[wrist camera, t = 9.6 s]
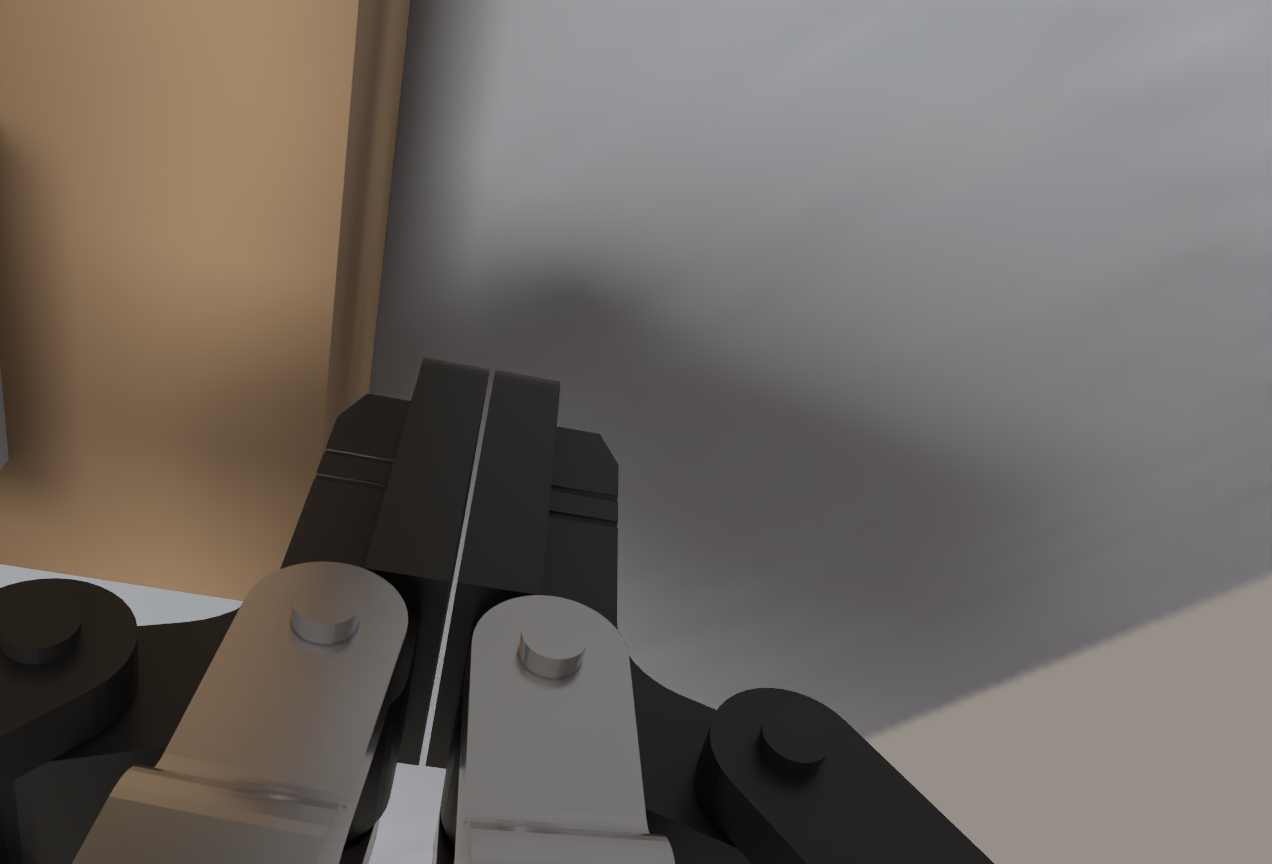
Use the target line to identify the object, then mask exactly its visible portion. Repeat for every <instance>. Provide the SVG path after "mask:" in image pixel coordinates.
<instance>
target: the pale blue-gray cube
mask: <svg viewBox="0 0 1272 864" xmlns="http://www.w3.org/2000/svg"><path fill="white" fill-rule="evenodd" d="M8 460H9V456H8V445H7V434H6V424H5V413H4V402H3V391H2V381H1V370H0V470H1V469H2V468H3V466H4V465H5V464H6V462H7V461H8Z"/></svg>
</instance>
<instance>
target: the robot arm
mask: <svg viewBox="0 0 1272 864" xmlns="http://www.w3.org/2000/svg"><path fill="white" fill-rule="evenodd" d="M488 376H489V369H485V368H479V367H474V366H468V365H462V364H457V363H451V362H446V361H440V360H434V359H429V358H424V359H423V361H422V365H421V368H420V372H419V375H418V379H417V382H416V386H415V389H414V393H413V396H412V400H411V401H406V400H400V399H394V398H388V397H383V396H377V395H371V394H366V395H365V396H363V397H362V398H361V399H359V400H358V401H357V402H356V403H354V404H353V405H352V406H350V407H349V408H348V409H347V410H345V411H344V412H343V413H341V414H340V415H339V416H338V417H337V419H336V421H335V424H334V427H333V429H332V432H331V435H330V437H329V440H328V443H327V445H326V449H325V453H323V456H322V459H321V461H320V464H319V467H318V469H317V472H316V478H314V480H313V483H312V485H311V488H310V491H309V493H308V496H307V499H306V501H305V504H304V507H303V509H302V512H301V515H300V517H299V520H298V523H297V525H296V528H295V531H294V533H293V536H292V539H291V541H290V544H289V547H288V549H287V552H286V555H285V557H284V560H283V563H282V565H281V568H280V570H278V571H276V572H274V573H272V574H270V575H268V576H266V577H265V578H264V579H262V580H261V581H259V582H258V583H257V584H256V585H255V586H254V587H253V588H252V589H251V590H250V591H249V593H248V594H247V596H246V597H245V599H244V601H243V603H242V605H241V607H240V608H238V609H236V610H234V611H232V612H229V613H226V614H223V615H221V616H217V617H213V618H209V619H205V620H199V621H191V622H182V623H171V624H159V625H147V626H137V624H136V619H135V617H134V615H133V613H132V611H131V609H130V608H129V607H128V606H127V604H126V603H125V602H124V601H123V600H122V599H121V598H119V597H118V596H116V595H115V594H114V593H112V592H110V591H108V590H106V589H104V588H102V587H100V586H97V585H94V584H91V583H88V582H83V581H77V580H72V579H57V578H55V579H37V580H30V581H23V582H19V583H15V584H11V585H7V586H5V587H2V588H0V864H368V863H369V859H370V856H371V853H372V849H373V846H374V843H375V840H376V835H377V830H378V824H379V818H380V817H381V816H382V814H383V812H384V811H385V809H386V807H387V804H388V801H389V798H390V794H391V789H392V784H393V779H394V774H395V769H396V765H397V762H398V763H405V764H413V765H419V760H420V755H421V749H422V744H423V739H424V733H425V728H426V722H427V717H428V711H429V706H430V701H431V695H432V690H433V684H434V679H435V674H436V668H437V663H438V657H439V652H440V647H441V641H442V636H443V630H444V625H445V620H446V614H447V609H448V603H449V598H450V593H451V587H452V582H453V576H454V571H455V565H456V560H457V555H458V549H459V544H460V538H461V533H462V527H463V522H464V516H465V511H466V505H467V499H468V493H469V488H470V482H471V476H472V470H473V464H474V458H475V453H476V447H477V441H478V435H479V429H480V423H481V417H482V412H483V406H484V400H485V394H486V388H487V382H488ZM559 392H560V382H559V381H553V380H547V379H542V378H536V377H531V376H525V375H519V374H514V373H508V372H503V371H497V370H495V376H494V382H493V387H492V393H491V398H490V404H489V409H488V415H487V421H486V426H485V432H484V437H483V443H482V448H481V454H480V460H479V465H478V471H477V476H476V482H475V487H474V493H473V499H472V504H471V510H470V515H469V521H468V527H467V532H466V538H465V543H464V549H463V554H462V560H461V566H460V571H459V577H458V582H457V588H456V594H455V600H454V605H453V611H452V617H451V623H450V628H449V634H448V640H447V646H446V652H445V657H444V663H443V669H442V675H441V680H440V686H439V692H438V698H437V703H436V709H435V715H434V721H433V727H432V732H431V738H430V744H429V750H428V755H427V761H426V766H430V767H438V768H445V769H446V775H445V781H444V788H443V794H442V800H441V807H440V812H439V818H438V823H437V828H436V833H435V839H434V845H433V858H432V864H994V863H993V862H992V861H991V860H990V859H989V858H988V857H987V856H986V855H985V854H984V853H983V852H982V851H981V850H979V849H978V848H977V847H976V846H975V845H974V844H973V843H972V842H971V841H970V840H969V839H968V838H967V837H966V836H965V835H964V834H963V833H962V832H961V831H960V830H959V829H958V828H956V827H955V826H954V825H953V824H952V823H951V822H950V821H949V820H948V819H947V818H946V817H945V816H944V815H943V814H942V813H941V812H940V811H939V810H937V808H936V807H935V806H934V805H933V804H931V803H930V802H929V801H928V800H927V799H926V798H925V797H924V796H923V795H922V794H921V793H920V792H919V791H918V790H917V789H916V788H915V787H914V786H913V785H912V784H911V783H909V781H907V780H906V779H905V778H904V777H903V776H902V775H901V774H900V773H899V772H898V771H897V770H896V769H895V768H894V767H893V766H891V764H890V763H889V762H888V761H886V760H885V759H884V758H883V757H882V756H881V755H880V754H879V753H878V752H877V751H876V750H875V749H874V748H873V747H872V746H871V745H870V744H869V743H868V742H867V741H866V740H865V739H864V738H863V737H862V736H860V735H859V734H858V733H857V732H856V731H855V730H854V729H853V728H852V727H851V726H850V725H849V724H848V723H847V722H846V721H845V720H844V719H842V718H841V717H840V716H839V715H838V714H837V713H835V712H834V711H833V710H831V709H830V708H828V707H827V706H825V705H824V704H822V703H820V702H818V701H816V700H814V699H812V698H810V697H807V696H805V695H802V694H799V693H797V692H792V691H788V690H784V689H775V688H757V689H751V690H746V691H743V692H741V693H738V694H735V695H734V696H732V697H730V698H729V699H727V700H726V701H725V702H724V703H723V704H722V705H721V706H720V707H719V708H718V710H715V709H713V708H710V707H708V706H705V705H703V704H701V703H698V702H696V701H693V700H691V699H689V698H686V697H684V696H681V695H679V694H677V693H675V692H673V691H671V690H669V689H667V688H665V687H664V686H662V685H660V684H659V683H657V682H656V681H654V680H653V679H652V678H650V677H649V676H648V675H647V674H645V673H644V672H643V671H642V670H641V669H640V668H639V667H638V666H637V665H636V664H635V663H634V662H633V660H632V659H631V658H630V656H629V654H628V649H627V646H626V644H625V642H624V639H623V637H622V636H621V635H620V633H619V632H618V627H617V550H618V528H617V523H618V502H617V498H618V464H617V462H616V460H615V459H614V457H613V455H612V454H611V452H610V450H609V449H608V447H607V445H606V444H605V442H604V440H603V439H602V437H601V435H600V434H596V433H590V432H585V431H579V430H573V429H567V428H562V427H556V426H557V415H558V403H559Z"/></svg>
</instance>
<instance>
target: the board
mask: <svg viewBox="0 0 1272 864" xmlns="http://www.w3.org/2000/svg"><path fill="white" fill-rule="evenodd" d="M410 2H411V0H0V370H1V381H2V391H3V402H4V413H5V424H6V434H7V445H8V456H9V460H8V461H7V462H6V464H5V465H4V466H3V468H2V469H1V470H0V564H3V565H10V566H17V567H23V568H30V569H36V570H43V571H49V572H56V573H63V574H69V575H76V576H82V577H89V578H95V579H102V580H109V581H115V582H122V583H128V584H135V585H142V586H148V587H155V588H161V589H168V590H174V591H181V592H188V593H194V594H201V595H207V596H214V597H220V598H227V599H234V600H240V601H244V599H245V597H246V596H247V594H248V593H249V591H250V590H251V589H252V588H253V587H254V586H255V585H256V584H257V583H258V582H259V581H261V580H262V579H264V578H265V577H266V576H268V575H270V574H272V573H274V572H276V571H278V570H280V568H281V565H282V563H283V560H284V557H285V555H286V552H287V549H288V547H289V544H290V541H291V539H292V536H293V533H294V531H295V528H296V525H297V523H298V520H299V517H300V515H301V512H302V509H303V507H304V504H305V501H306V499H307V496H308V493H309V491H310V488H311V485H312V483H313V480H314V478H316V472H317V469H318V467H319V464H320V461H321V459H322V456H323V453H325V449H326V445H327V443H328V440H329V437H330V435H331V432H332V429H333V427H334V424H335V421H336V419H337V417H338V416H339V415H340V414H341V413H343V412H344V411H345V410H347V409H348V408H349V407H350V406H352V405H353V404H354V403H356V402H357V401H358V400H359V399H361V398H362V397H363V396H365V395H366V394H369V391H370V381H371V372H372V362H373V353H374V343H375V334H376V324H377V315H378V306H379V296H380V287H381V277H382V268H383V258H384V249H385V239H386V230H387V220H388V211H389V201H390V192H391V182H392V173H393V163H394V154H395V144H396V135H397V125H398V116H399V107H400V97H401V88H402V78H403V69H404V59H405V50H406V40H407V31H408V21H409V12H410Z"/></svg>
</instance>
